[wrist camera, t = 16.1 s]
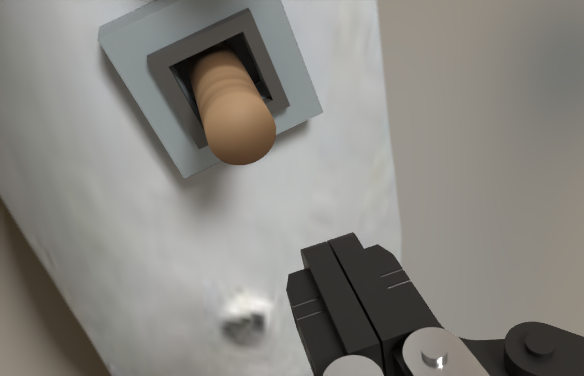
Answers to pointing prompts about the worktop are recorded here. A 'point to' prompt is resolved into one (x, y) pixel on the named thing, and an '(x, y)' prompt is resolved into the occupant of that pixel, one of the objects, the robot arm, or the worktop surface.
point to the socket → (191, 40)
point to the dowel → (230, 106)
